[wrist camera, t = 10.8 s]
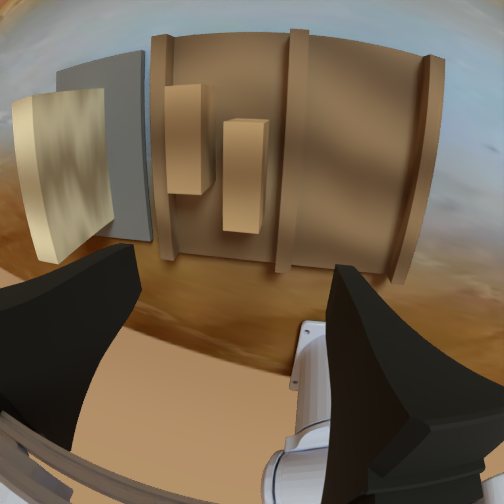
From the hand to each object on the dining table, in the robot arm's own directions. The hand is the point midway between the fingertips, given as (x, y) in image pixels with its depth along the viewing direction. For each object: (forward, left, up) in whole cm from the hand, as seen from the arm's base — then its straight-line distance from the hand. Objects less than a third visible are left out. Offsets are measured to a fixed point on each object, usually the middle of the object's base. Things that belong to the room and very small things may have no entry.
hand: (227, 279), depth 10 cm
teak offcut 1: (+4, +4, -10) cm, 11 cm away
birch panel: (+2, +12, -10) cm, 16 cm away
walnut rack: (+3, -2, -10) cm, 11 cm away
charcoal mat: (+3, +12, -10) cm, 16 cm away
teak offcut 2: (+2, +1, -10) cm, 10 cm away
